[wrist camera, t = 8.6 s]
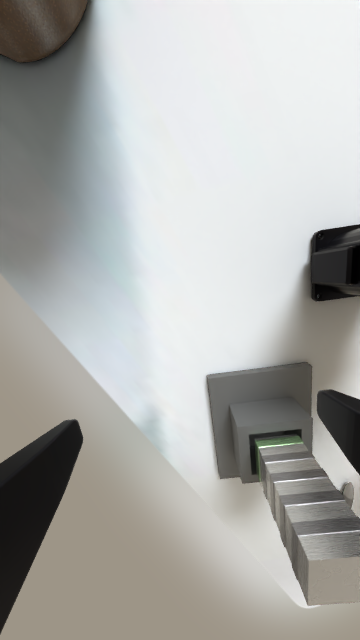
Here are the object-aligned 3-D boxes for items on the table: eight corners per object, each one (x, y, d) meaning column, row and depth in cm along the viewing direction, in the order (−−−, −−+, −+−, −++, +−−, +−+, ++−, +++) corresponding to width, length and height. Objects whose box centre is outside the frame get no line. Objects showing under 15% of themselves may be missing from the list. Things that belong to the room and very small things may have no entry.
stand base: (307, 362, 20) (344, 387, 16) (305, 463, 24) (336, 509, 19) (206, 374, 21) (214, 403, 16) (218, 472, 24) (227, 519, 19)
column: (297, 433, 18) (385, 553, 10) (297, 467, 19) (377, 601, 11) (253, 438, 18) (307, 560, 10) (255, 471, 19) (306, 606, 11)
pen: (326, 548, 28) (333, 563, 26) (340, 475, 24) (350, 487, 23) (333, 548, 28) (341, 562, 26) (348, 474, 24) (358, 486, 23)
